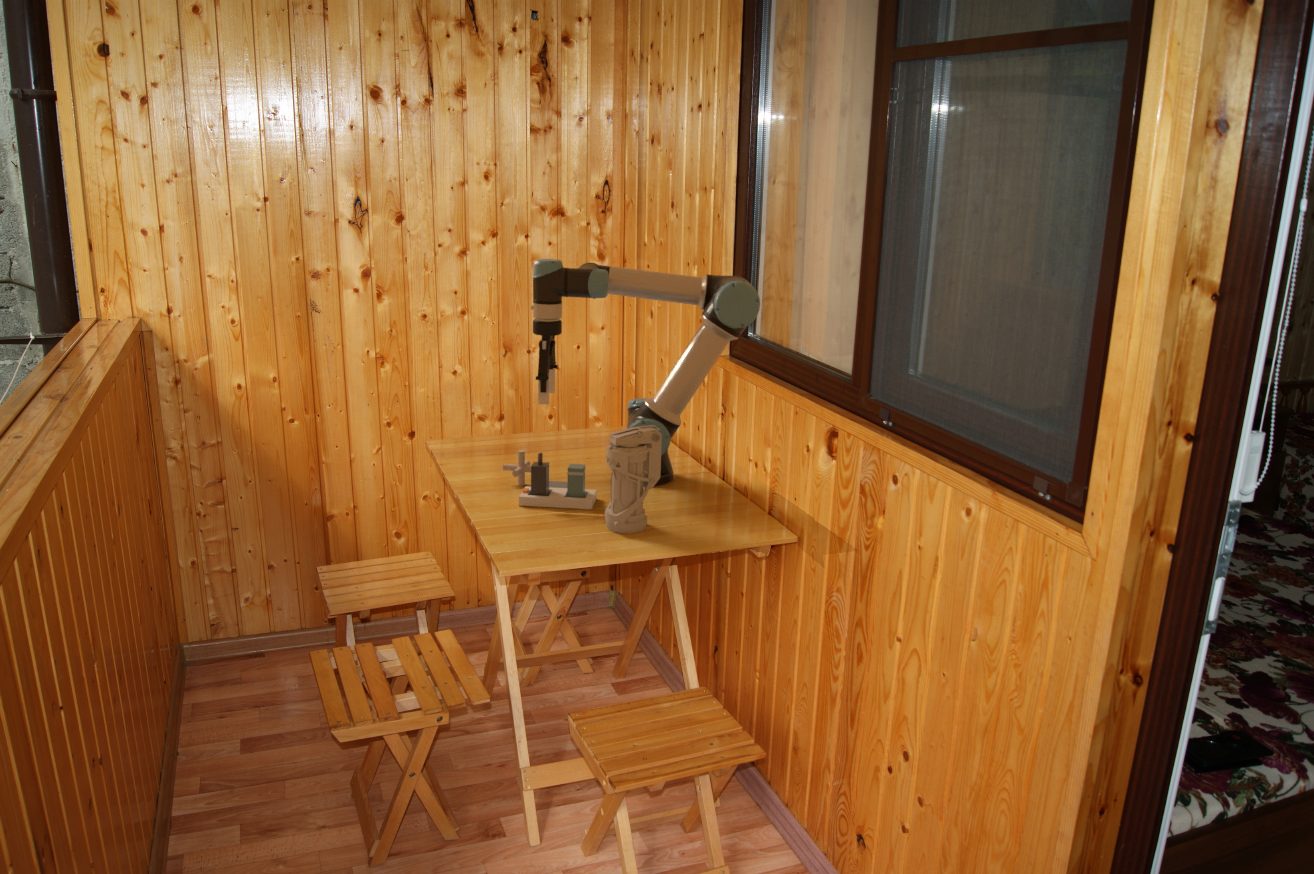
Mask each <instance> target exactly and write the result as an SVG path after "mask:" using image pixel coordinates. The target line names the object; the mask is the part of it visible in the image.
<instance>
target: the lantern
mask: <svg viewBox="0 0 1314 874" xmlns="http://www.w3.org/2000/svg"><path fill="white" fill-rule="evenodd" d="M651 426H655V425H648V426H638V427H632V428H628V429H627V428H625V429H621V430H617V431H614V432H610V433H609V443H608V444H607V445H606V458H605V459H606V462H605V463H606V466H607V468H609V469H610V502H609V504H608V505H607V507H606V508H605V510H604V516H605V517H604V518H605V519H604V520H605V525H606V528H607V529H608V530H609V531H611V532H614V533H618V534H635V533H640V532H643V531H644V530H645V529H646V526H647V523H648V516H647V515H646V509H645V508H644V507H643V506H644V505H643V504H644V500H645V498H646V497H647V495H648V491H649V490H651V489H653V488H654V486H656V485H655V484H656V483H657V481H658V480H659V479H660V473H661V444H662V434H661V433H660V432H659V431H657V430H660V429H659V428H658V427H656V426H655V427H656V428H658V429H655V428H653V427H651Z"/></svg>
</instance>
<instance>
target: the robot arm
mask: <svg viewBox="0 0 1314 874" xmlns="http://www.w3.org/2000/svg"><path fill="white" fill-rule="evenodd" d="M608 295H614V296H622V297H630V298H637V299H644V300H653V301H661V302H669V303H675V304H685V305H694V306H698V307H699V308H700V310H703V311H702V313H700V315H701V321H702V323H701V325H700V326H699V328H698V329H697V330H696V332H695V334H694V335H693V336H692V338H691V340H690V341H689V342H688V345H686V347H685V349H684V350H683V352H682V354H681V355H680V357H679V358H678V359H677V361H676V362H675V363H674V365H673V367H672V369H671V370H670V372H669V373H668V375H667V376H666V378H665V379H664V381H663V382H662V384H661V385H660V387H659V388H658V390H657V391H656V393H655V394H654V396H653V397H650V398H646V397H645V398H643V397H642V398H640V397H639V398H631V399H630V400H628V403H627V406H628V407H627V409H626V411H627V424H626V429H628V428H632V427H638V426H648V425H655V426H656V427H658V428H659V429H660V430H657V431H659V432H660V433H661V434H662V444H661V473H660V479H659V480H658V481H657V483H656V484H655V485H654V486H661V485H665V484H668V483H671V482H672V481H673V479H674V469H673V466H672V462H671V458H670V455H669V447H670V445H671V439H672V438H673V437H674V435H675V434H676V433H677V431H678V429H679V428H680V426H681V425H682V419H681V415H682V413H683V412H684V410H685V409H686V407H687V405H689V403H690V401H691V400H692V398H693V397H694V395H695V393H697V391H698V389H699V388H700V387H701V386H702V383H703V381H704V380H705V379H706V378H707V375H708V374H710V373H709V372H711V370H712V368H713V366H714V365H715V364H716V362H717V361H718V359H719V358H720V356H721V355H722V354H723V352H724V350H725V349H726V348H727V346H728V344H729V343H730V342H732V341H736V340H738V339H739V338H740V337H741V335H742V334H743V332H744V331H745V329H746V328H747V327H748V326H749V325H750V324H752V323H753V322H754V321H755V320H756V318H757V316H758V314H759V312H760V308H761V299H760V295H759V294H758V290H757V289H756V288H755V286H754V285H752V283H751V282H750V281H749V280H747V279H746V278H744V277H742V276H740V275H719V274H717V275H716V274H709V273H708V274H707V273H706V274H704V275H703V276H692V275H684V274H683V275H682V274H676V273H668V272H660V271H659V272H658V271H651V270H650V271H649V270H642V269H636V268H635V269H634V268H627V267H620V266H619V267H618V266H608V265H601V264H597V263H595V262H586V263H582V265H580V266H579V267H576V268H575V267H574V268H573V267H564V265H563V261H562V260H560V259H557V258H555V259H554V258H539V259H536V260H535V261H534V262H533V272H532V305H530V310H533V312H532V315H533V318H534V319H533V321H532V333H533V334H534V335H536V336H541V339H540V340H539V341H538V348H539V350H538V366H537V367H538V369H537V375H535V380H536V381H538V383H537V385H538V394H537V395H538V397H537V398H538V400H537V401H538V405H548V406H549V405H550V394H556V384H555V383H556V370H557V369H558V364H557V361H556V340H555V339H556V336H559V335H561V334H562V332H563V331H562V329H563V327H562V326H563V324H562V323H563V321H562V320H561V319H562V318H563V298H583V299H585V298H586V299H593V300H595V299H605V298H607V296H608ZM655 426H651V427H653V428H655V429H658V428H656V427H655Z"/></svg>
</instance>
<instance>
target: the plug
mask: <svg viewBox="0 0 1314 874" xmlns="http://www.w3.org/2000/svg"><path fill="white" fill-rule="evenodd" d="M566 476H567V482H568V489H567V497H574V498H585V489H586V463H585V464H584V463H583V464H582V463H569V465H568V467H567V475H566Z"/></svg>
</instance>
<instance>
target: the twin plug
mask: <svg viewBox="0 0 1314 874" xmlns="http://www.w3.org/2000/svg"><path fill="white" fill-rule="evenodd" d="M543 457H544V455H543V452H538V453H537V461H533V463H532V464H531V465H530V466H531V472H530V486H531V495H537V496H549V481H550V462H546V461H545V462H543Z"/></svg>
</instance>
